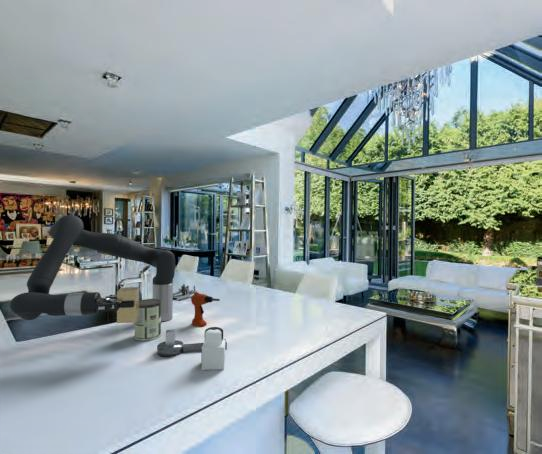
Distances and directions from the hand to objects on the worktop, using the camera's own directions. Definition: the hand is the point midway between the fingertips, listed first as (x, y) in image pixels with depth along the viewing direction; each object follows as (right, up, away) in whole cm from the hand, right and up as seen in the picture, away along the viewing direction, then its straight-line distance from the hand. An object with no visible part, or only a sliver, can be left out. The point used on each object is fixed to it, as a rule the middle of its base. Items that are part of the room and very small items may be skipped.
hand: (135, 301), depth 109 cm
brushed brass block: (-2, -6, 0) cm, 7 cm away
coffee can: (-3, -18, +17) cm, 25 cm away
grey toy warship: (-9, -18, +82) cm, 84 cm away
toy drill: (+18, -19, +30) cm, 40 cm away
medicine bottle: (+29, -19, -8) cm, 36 cm away
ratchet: (+19, -19, +4) cm, 27 cm away
